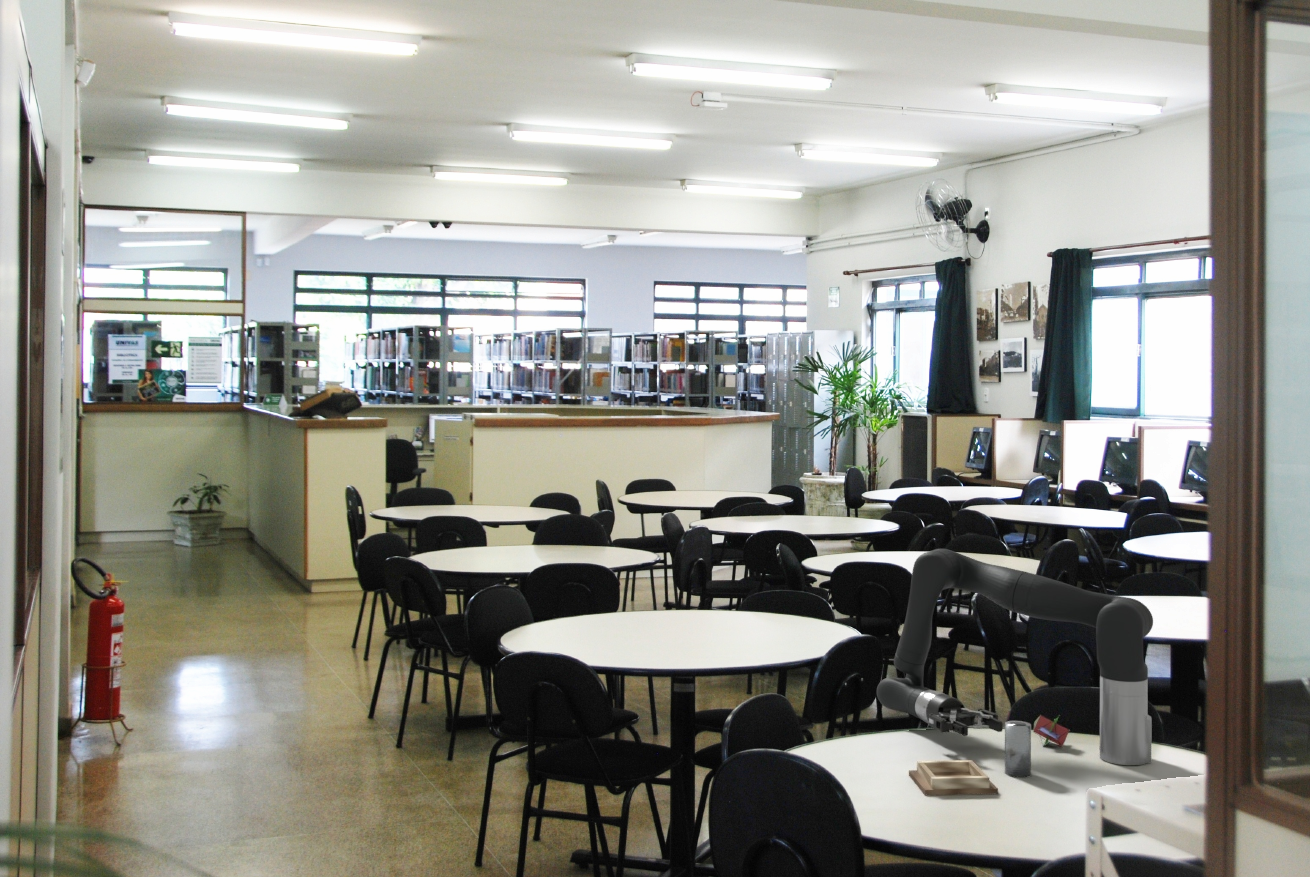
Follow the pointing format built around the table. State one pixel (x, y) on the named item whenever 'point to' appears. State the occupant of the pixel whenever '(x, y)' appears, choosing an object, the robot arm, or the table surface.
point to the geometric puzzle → (1050, 730)
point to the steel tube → (1018, 749)
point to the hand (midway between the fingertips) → (983, 728)
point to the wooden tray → (951, 778)
